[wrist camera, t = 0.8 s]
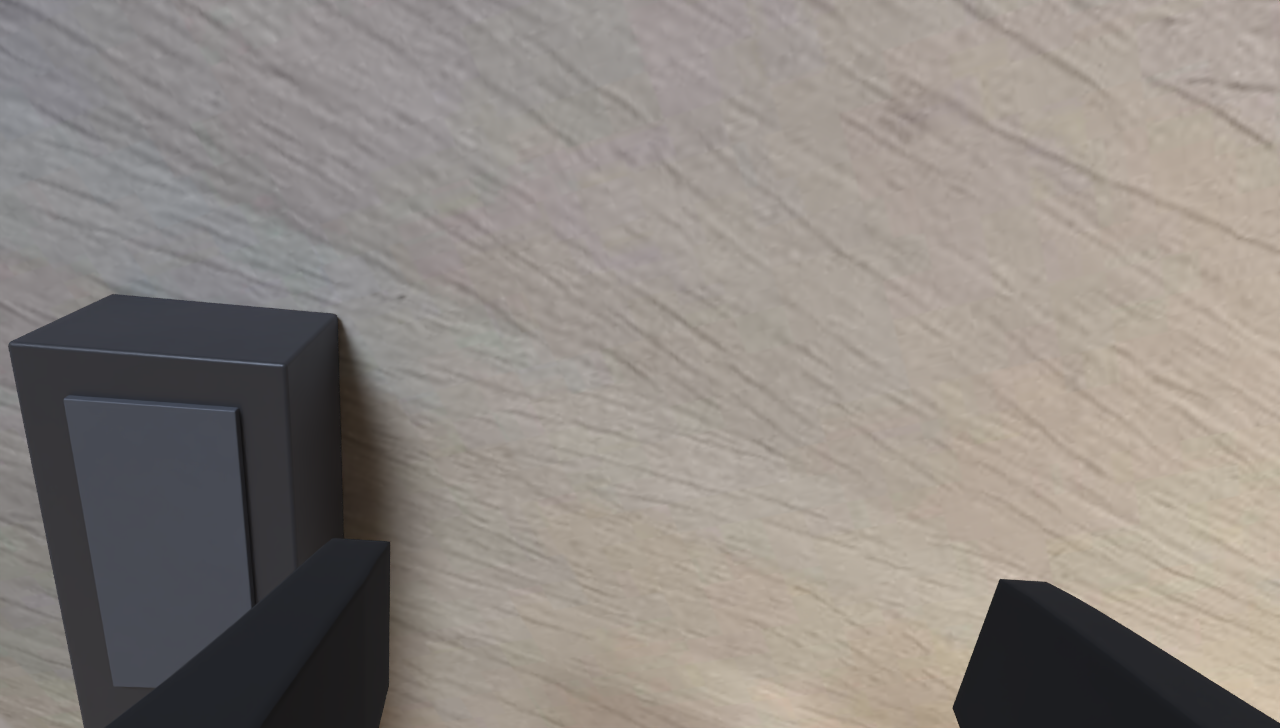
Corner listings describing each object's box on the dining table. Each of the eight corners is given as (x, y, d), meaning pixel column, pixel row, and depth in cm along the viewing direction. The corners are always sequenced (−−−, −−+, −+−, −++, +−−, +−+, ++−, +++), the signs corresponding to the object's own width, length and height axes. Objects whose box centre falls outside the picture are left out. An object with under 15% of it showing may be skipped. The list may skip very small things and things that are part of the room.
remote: (347, 647, 19) (305, 753, 16) (160, 640, 18) (80, 749, 15) (338, 312, 16) (282, 368, 13) (111, 292, 15) (-2, 345, 12)
